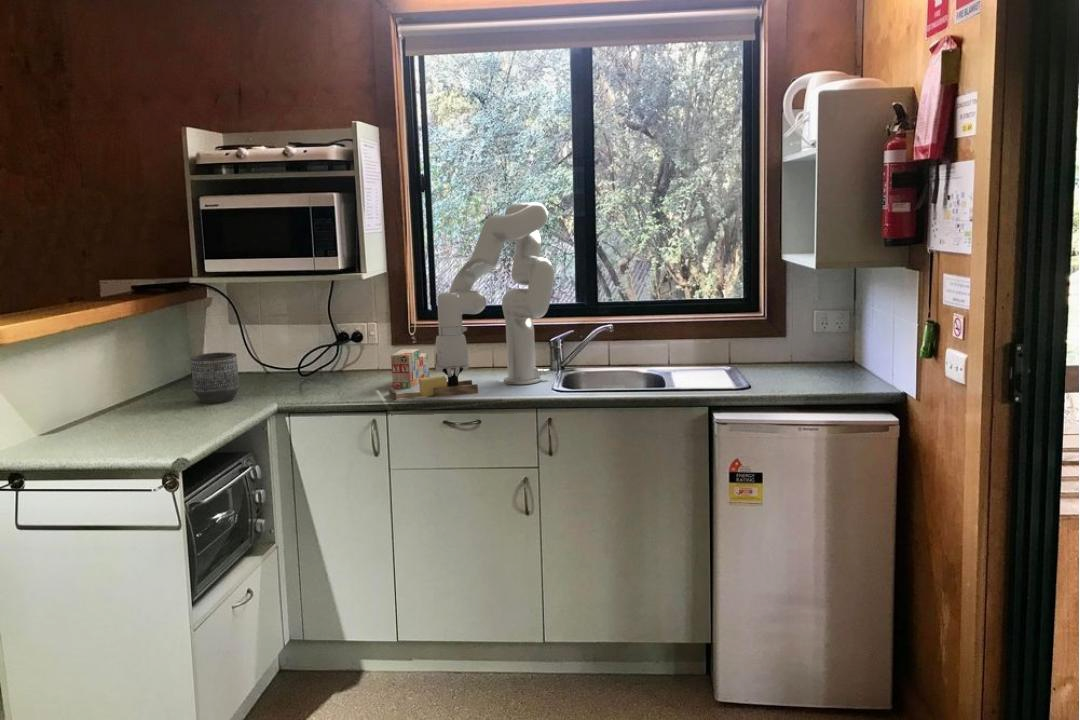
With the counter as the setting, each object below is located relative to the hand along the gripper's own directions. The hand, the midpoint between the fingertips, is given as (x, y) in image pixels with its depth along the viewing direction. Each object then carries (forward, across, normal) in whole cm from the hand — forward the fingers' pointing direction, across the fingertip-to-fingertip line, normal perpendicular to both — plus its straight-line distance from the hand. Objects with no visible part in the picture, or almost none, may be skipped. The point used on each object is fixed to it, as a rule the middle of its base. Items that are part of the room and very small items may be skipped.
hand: (453, 388), depth 304 cm
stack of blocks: (+2, +10, -24) cm, 26 cm away
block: (+1, +6, 0) cm, 7 cm away
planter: (+3, +73, -26) cm, 77 cm away
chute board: (+2, +6, 0) cm, 7 cm away
